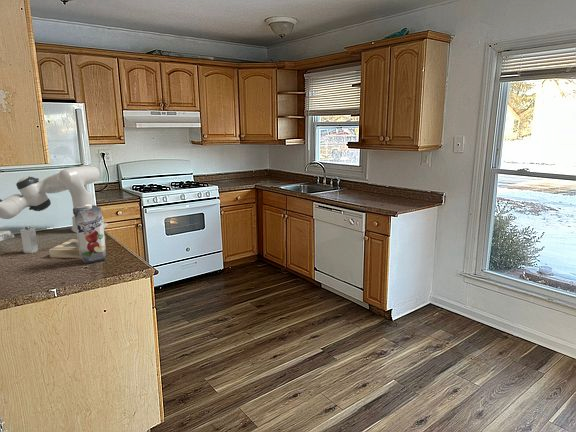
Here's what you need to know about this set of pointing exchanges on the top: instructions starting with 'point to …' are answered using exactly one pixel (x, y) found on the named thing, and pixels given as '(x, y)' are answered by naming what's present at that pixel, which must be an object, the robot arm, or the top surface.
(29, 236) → the square capped bottle
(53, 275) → the top surface
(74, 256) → the birch stand
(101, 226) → the juice carton
